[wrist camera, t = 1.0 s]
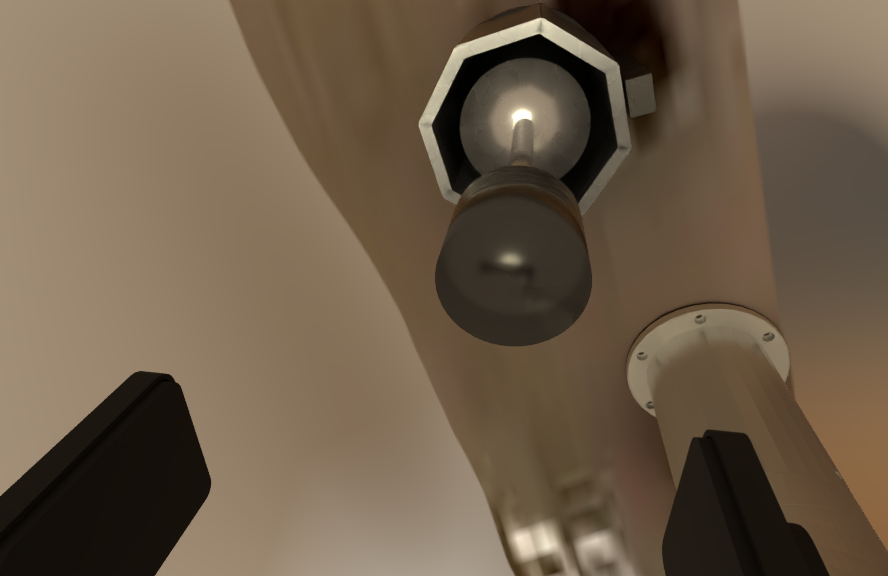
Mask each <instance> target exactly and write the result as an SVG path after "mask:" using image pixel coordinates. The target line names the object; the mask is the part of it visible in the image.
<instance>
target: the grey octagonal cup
mask: <svg viewBox="0 0 888 576" xmlns="http://www.w3.org/2000/svg"><path fill="white" fill-rule="evenodd" d="M519 57H537V58H543V59H546V60H549V61H552V62H554V63H556V64H558V65H560V66H561V67H563V68H564V69H566V70H567V71H568V72H569V73H570V74H571V75H572V76H573V77H574V78H575V79H576V80H577V82H578V83H579V85H580V86H581V88H582V90H583V92H584V94H585V97H586V99H587V102H588V106H589V110H590V118H591V120H590V133H589V138H588V141H587V144H586V147H585V149H584V151H583V153H582V155H581V157H580V158H579V160H578V161H577V163H576V164H575V165H574V166H573V167H572V168H571V169H570V170H569V171H568V172H567V173H566V174H565V175H564V176H562V177H561V178H560V179H559V180H561V181H562V182H563V183H564V184H565V185H566V186H567V187H568V188H569V189H570V191H571V192H572V194H573V195H574V197H575V199H576V201H577V203H578V205H579V209H580V212H581V216H582V215H584V214H585V213H586V212H587V210H588V209H589V207H590V206H591V205H592V203H593V202H594V201H595V199H596V198H597V196H598V195H599V194H600V192H601V191H602V190H603V188H604V187H605V186H606V184H607V183H608V181H609V180H610V179H611V177H612V176H613V175H614V173H615V172H616V170H617V169H618V168H619V166H620V165H621V164H622V162H623V161H624V159H625V158H626V157H627V155H628V154H629V153H630V151H631V149H632V146H631V140H630V133H629V127H628V121H627V114H626V112H627V113H628V115H629V116H630V118H633V117H637V116H641V115H644V114H648V113H652V112H655V111H656V104H655V96H654V88H653V81H652V73H651V72H650V71H649V70H647V69H646V68H645V67H644V66H643V65H642V64H641V63H640V62H638V61H637V60H636V59H635V58H634V57H633V56H632V55H631V54H629V53H628V52H627V51H626V52H623V53H619V54H616V55H613V56H611V55H610V54H609V53H608V51H607V50H606V49H605V48H604V47H603V46H602V45H601V43H600V42H599V41H598V40H597V39H596V38H595V37H594V36H593V35H592V34H590V33H589V32H587V31H586V30H585V29H584V28H583V27H582V26H581V25H580V24H579V23H578V22H577V21H575V20H574V19H572V18H571V17H570V16H568V15H566V14H564V13H562V12H560V11H558V10H555V9H552V8H547V7H546V6H544V5H542V4H541V3H539V4H536V5H533V6H524V7H517V8H514V9H510V10H507V11H505V12H502V13H500V14H498V15H496V16H495V17H493V18H491V19H490V20H488V21H486V22H483V23H481V24H479V25H478V26H477V27H476V28H475V29H474V30H473V31H472V32H470V33H469V34H468V35H467V36H466V37H465V38H464V39H463V40H462V41H461V42H460V43H459V44H458V45H457V46H456V47H455V48H454V50H453V52H452V54H451V56H450V59H449V61H448V63H447V65H446V67H445V69H444V71H443V73H442V75H441V77H440V79H439V82H438V84H437V86H436V88H435V90H434V92H433V94H432V96H431V98H430V100H429V102H428V105H427V107H426V109H425V111H424V113H423V115H422V117H421V119H420V121H419V128H420V131H421V134H422V137H423V140H424V143H425V146H426V149H427V152H428V155H429V158H430V161H431V164H432V167H433V170H434V173H435V176H436V179H437V182H438V185H439V188H440V191H441V194H442V197H444V199H446V200H448V201H450V202H452V203H454V204H455V205H457V203H458V201H459V198H460V197H461V195H462V194H463V192H464V191H465V189H466V188H467V187H468V186H469V185H470V184H471V183H472V182H473V181H474V180H476V179H477V178H478V177H480V176H481V174H480V173H479V172H478V171H477V170H476V169H475V168H474V166H473V165H472V164H471V162H470V161H469V159H468V157H467V155H466V153H465V151H464V148H463V145H462V141H461V136H460V118H461V112H462V108H463V105H464V102H465V100H466V98H467V95H468V94H469V92H470V90H471V89H472V87H473V85H474V84H475V83H476V82H477V80H478V79H479V78H480V77H481V76H482V75H483V74H484V73H485V72H487V71H488V70H489V69H491V68H492V67H494V66H496V65H497V64H499V63H501V62H504V61H507V60H510V59H514V58H519Z"/></svg>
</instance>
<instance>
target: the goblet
mask: <svg viewBox="0 0 888 576" xmlns="http://www.w3.org/2000/svg"><path fill="white" fill-rule="evenodd" d="M590 120H591V118H590V110H589V106H588V102H587V99H586V97H585V94H584V92H583V90H582V88H581V86H580V85H579V83H578V82H577V80H576V79H575V78H574V77H573V76H572V75H571V74H570V73H569V72H568V71H567V70H566V69H564V68H563V67H561V66H560V65H558V64H556V63H554V62H552V61H549V60H546V59H543V58H537V57H519V58H514V59H510V60H507V61H504V62H501V63H499V64H497V65H496V66H494V67H492V68H491V69H489V70H488V71H487V72H485V73H484V74H483V75H482V76H481V77H480V78H479V79H478V80H477V82H476V83H475V84H474V85H473V87H472V89H471V90H470V92H469V94H468V95H467V98H466V100H465V102H464V105H463V108H462V112H461V118H460V136H461V141H462V145H463V148H464V151H465V153H466V155H467V157H468V159H469V161H470V162H471V164H472V165H473V166H474V168H475V169H476V170H477V171H478V172H479V173H480V174H481V176H480V177H478V178H477V179H476V180H474V181H473V182H472V183H471V184H470V185H469V186H468V187H467V188H466V189H465V191H464V192H463V194H462V195H461V197H460V198H459V201H458V203H457V205H456V208H455V211H454V214H453V217H452V220H451V223H450V225H449V228H448V231H447V234H446V237H445V240H444V243H443V246H442V249H441V252H440V255H439V258H438V261H437V265H436V271H435V283H436V290H437V293H438V297H439V299H440V302H441V304H442V306H443V308H444V309H445V311H446V313H447V314H448V315H449V316H450V318H451V319H452V320H453V321H454V322H455V323H456V324H457V325H458V326H459V327H461V328H462V329H463V330H465V331H466V332H467V333H469V334H471V335H473V336H474V337H476V338H479V339H481V340H483V341H486V342H489V343H493V344H498V345H504V346H526V345H533V344H537V343H541V342H544V341H547V340H549V339H551V338H553V337H555V336H557V335H559V334H561V333H562V332H564V331H565V330H566V329H568V328H569V327H570V326H571V325H572V324H573V323H574V322H575V321H576V320H577V319H578V318H579V316H580V315H581V313H582V312H583V311H584V309H585V307H586V305H587V303H588V300H589V297H590V293H591V288H592V273H591V266H590V260H589V255H588V249H587V244H586V239H585V233H584V228H583V222H582V217H581V212H580V209H579V205H578V203H577V201H576V199H575V197H574V195H573V194H572V192H571V191H570V189H569V188H568V187H567V186H566V185H565V184H564V183H563V182H562V181H561V180H559V179H560V178H561V177H562V176H564V175H565V174H566V173H567V172H568V171H569V170H570V169H571V168H572V167H573V166H574V165H575V164H576V163H577V161H578V160H579V158H580V157H581V155H582V153H583V151H584V149H585V147H586V144H587V141H588V138H589V133H590Z"/></svg>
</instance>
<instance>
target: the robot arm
mask: <svg viewBox="0 0 888 576" xmlns="http://www.w3.org/2000/svg"><path fill="white" fill-rule="evenodd" d="M789 369H790V355H789V349H788V347H787V345H786V342H785V340H784V338H783V337H782V335H781V334H780V332H779V331H778V330H777V328H776V327H775V326H774V325H773V324H772V323H771V322H770V321H769V320H768V319H766V318H765V317H763V316H761V315H760V314H758V313H756V312H755V311H752V310H749V309H746V308H743V307H741V306H735V305H729V304H702V305H694V306H690V307H686V308H683V309H679V310H676V311H674V312H672V313H670V314H668V315H665V316H663V317H662V318H660V319H658V320H657V321H655V322H654V323H652V324H651V325H650V326H649V327H648V328H646V329H645V330H644V331H643V332H642V333H641V334H640V335H639V337H638V338H637V340H636V341H635V342H634V344H633V345H632V347H631V350H630V352H629V354H628V358H627V363H626V376H627V381H628V385H629V389H630V391H631V393H632V395H633V397H634V399H635V400H636V401H637V403H638V404H639V405H640V406H641V407H642V408H643V409H644V410H645V411H647V412H648V413H649V414H651V415H652V416H654V417H656V418H657V421H658V425H659V429H660V432H661V436H662V440H663V444H664V447H665V451H666V455H667V458H668V462H669V466H670V470H671V473H672V477H673V481H674V484H675V488H676V496H675V499H674V503H673V506H672V510H671V514H670V517H669V521H668V524H667V528H666V531H665V535H664V538H663V545H662V556H663V564H664V569H665V574H666V576H888V551H887V549H886V548H885V546H884V545H883V543H882V541H881V540H880V539H879V537H878V535H877V534H876V532H875V530H874V529H873V527H872V526H871V524H870V522H869V521H868V519H867V517H866V516H865V514H864V512H863V511H862V509H861V507H860V506H859V504H858V503H857V501H856V500H855V498H854V497H853V495H852V493H851V491H850V490H849V488H848V486H847V485H846V483H845V481H844V479H843V478H842V476H841V475H840V473H839V471H838V470H837V468H836V466H835V465H834V463H833V461H832V460H831V458H830V456H829V455H828V453H827V451H826V450H825V448H824V447H823V445H822V443H821V442H820V440H819V438H818V437H817V435H816V433H815V432H814V430H813V428H812V427H811V425H810V424H809V422H808V420H807V419H806V417H805V415H804V414H803V412H802V410H801V409H800V407H799V405H798V404H797V402H796V400H795V399H794V397H793V396H792V394H791V392H790V391H789V389H788V387H787V386H786V384H785V382H786V379H787V377H788V374H789ZM210 488H211V478H210V475H209V472H208V469H207V466H206V463H205V459H204V456H203V453H202V450H201V447H200V444H199V441H198V438H197V435H196V432H195V429H194V426H193V422H192V419H191V416H190V413H189V410H188V407H187V404H186V401H185V398H184V395H183V392H182V389H181V386H180V385H179V384H178V383H176V382H175V381H174V379H173V377H172V376H171V375H169V374H164V373H154V372H144V371H139V372H135V373H134V374H132V375H131V376H130V377H129V378H128V379H127V380H125V382H123V383H122V384H121V385H120V386H119V387H118V388H117V389H116V390H115V391H114V392H113V393H111V394H110V395H109V396H108V397H107V398H106V399H105V400H104V401H103V402H102V403H101V404H100V405H98V407H96V408H95V409H94V410H93V411H92V412H91V413H90V414H89V415H88V416H87V417H86V418H84V419H83V421H81V422H80V423H79V424H78V425H77V426H76V427H75V428H74V429H73V430H71V431H70V432H69V433H68V434H67V435H66V436H65V437H64V438H63V439H62V440H61V441H60V442H59V443H57V444H56V445H55V446H54V447H53V448H52V449H51V450H50V451H49V452H48V453H47V454H46V455H45V456H43V457H42V458H41V459H40V460H39V461H38V462H37V463H36V464H35V465H34V466H33V467H31V468H30V469H29V470H28V471H27V472H26V473H25V474H24V475H23V476H22V477H21V478H20V479H19V480H17V482H15V483H14V484H13V485H12V486H11V487H10V488H9V489H8V490H7V491H6V492H4V493H3V494H2V495H1V496H0V576H155V575H156V573H157V571H158V570H159V569H160V567H161V566H162V564H163V562H164V561H165V560H166V558H167V557H168V555H169V554H170V552H171V551H172V549H173V548H174V546H175V545H176V543H177V542H178V540H179V539H180V537H181V536H182V534H183V533H184V531H185V530H186V528H187V527H188V525H189V524H190V522H191V521H192V519H193V518H194V516H195V515H196V513H197V512H198V510H199V509H200V508H201V506H202V504H203V503H204V502H205V500H206V498H207V497H208V494H209V492H210Z"/></svg>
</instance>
